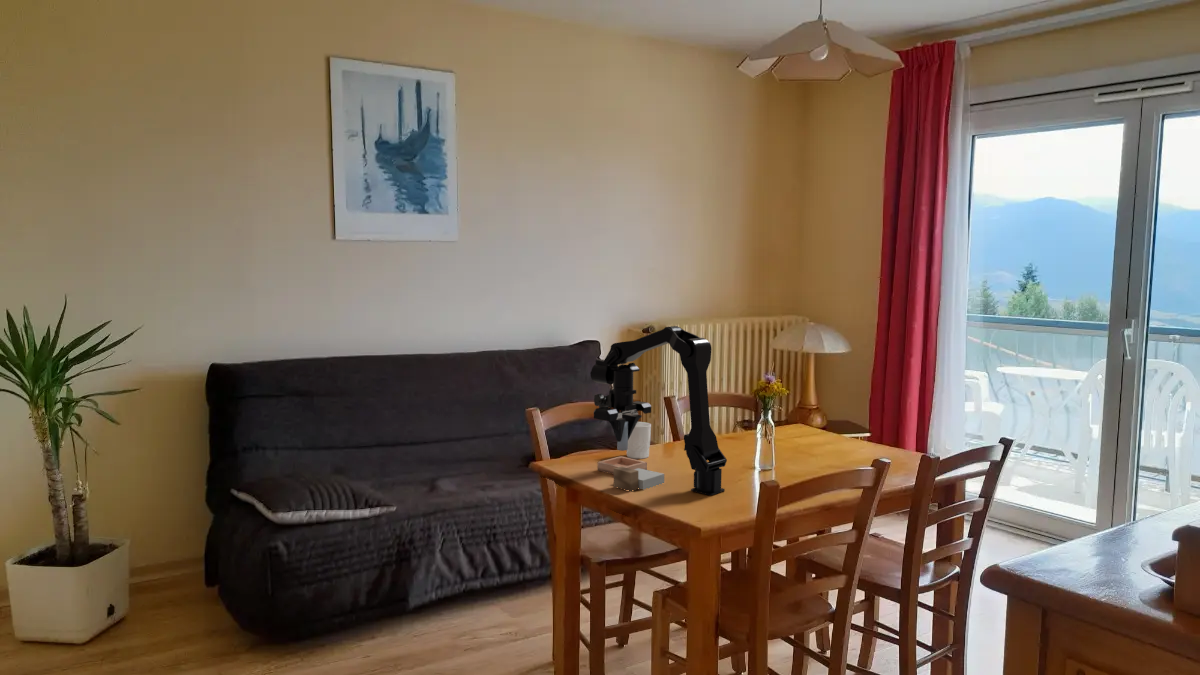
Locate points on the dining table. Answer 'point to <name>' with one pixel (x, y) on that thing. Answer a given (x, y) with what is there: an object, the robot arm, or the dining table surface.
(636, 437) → the white cup
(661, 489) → the dining table surface
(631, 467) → the tray
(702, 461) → the robot arm
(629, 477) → the block
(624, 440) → the dowel
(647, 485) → the flat grey square block
